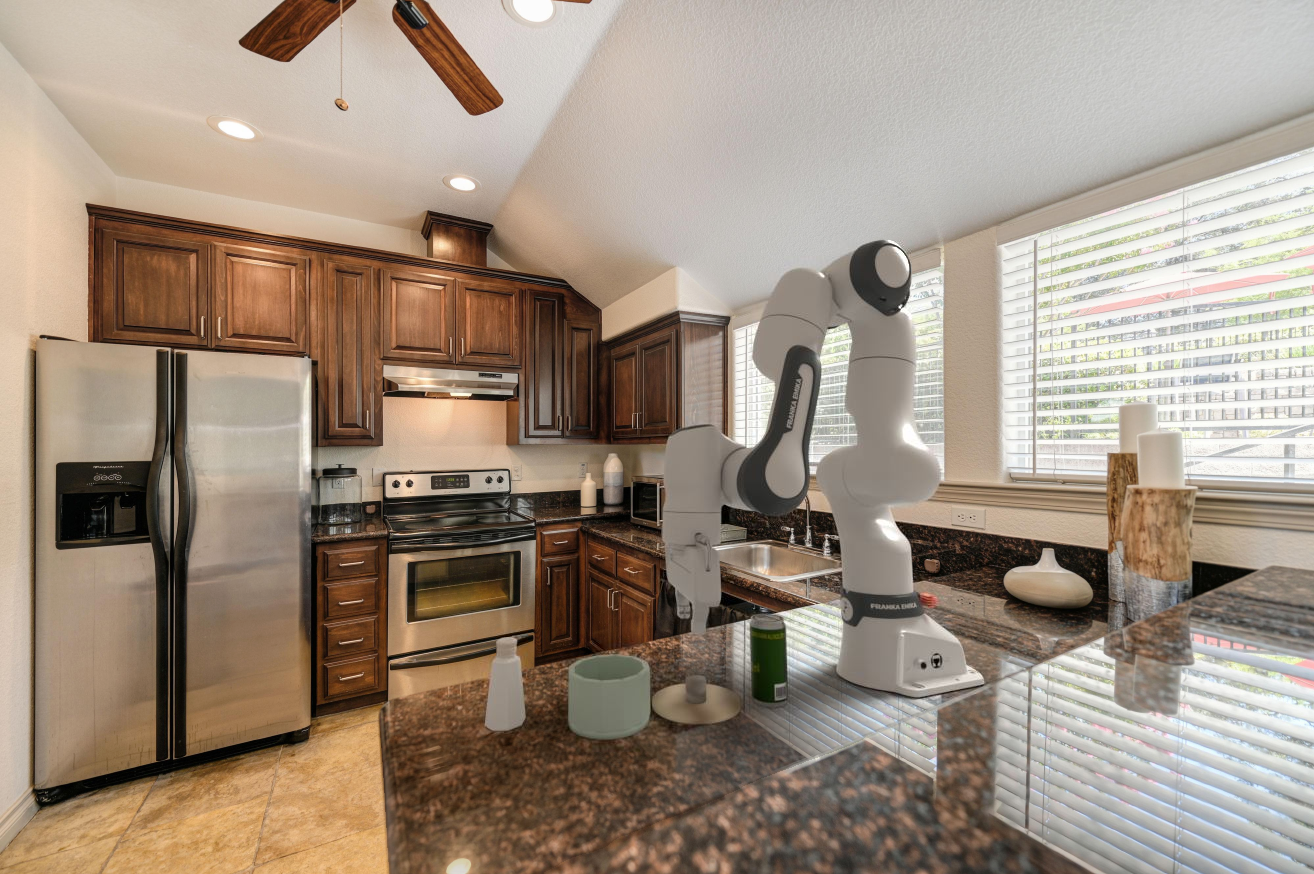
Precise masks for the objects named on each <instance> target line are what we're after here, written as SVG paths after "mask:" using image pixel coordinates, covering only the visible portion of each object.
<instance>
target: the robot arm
mask: <svg viewBox="0 0 1314 874" xmlns="http://www.w3.org/2000/svg"><path fill="white" fill-rule="evenodd" d="M912 277H913V276H912V265H911V260H910V258H909V256H908V254H907V252H906V251H905V250H904V249H903V248H902V247H901V246H900V245H899V244H898V243H897V242H894V241H893V240H889V239H879V240H874V241H870V242H867V243H864V244H862V245H860V246H858V247H857V249H855V250H852V251H850V252H848V253H846V254H844V255H842V256H840V257H838V258H836V259H835V260H833V261H832V262H831V263H829V264H828V265H827V266H826V267H824V268H822V270H820V271H819V270H816V269H815V268H811V267H798V268H794V269H790V270H789V271H787V272H785V273H784V274H783V275H782V276H780V279H779V280H778V282H777V283H776V285H775V287H774V289H772V290H773V291H772V292H771V294H770V296H769V299H768V300H767V303H766V304H765V307H764V309H763V312H762V314H761V317H760V320H759V323H758V326H757V329H756V332H755V336H754V340H753V343H752V344H753V345H752V355H751V358H752V361H753V363H754V365H755V367H756V369H757V370H758V371H759V373H760V374H762V375H763V377H765V378H768V379H769V380H770V381H773V382H774V392H773V393H774V394H773V397H772V398H773V399H772V403H771V407H770V411H769V416H768V420H767V425H766V429H765V432H764V434H763V437H761V438H760V440H759V442H758V443H756V444H755V445H754V446H752V447H747V446H746V445H743V444H740V443H738V442H737V441H735V440H733V439H731V438H729V437H728V436H727V435H725V434H724V432H723V433H722V432H721V431H720V430H719V428H718V427H717V426H716V425H715V424H709V423H707V424H706V423H705V424H704V423H702V424H697V425H696V424H695V425H688V426H687V427H680V428H678V429H676V430H674V431H673V432H672V433H671V434H670V435H669V436H668V439H667V441H666V446H665V452H664V462H663V487H664V492H665V499H664V503H663V508H662V525H661V538H662V540H661V541H662V542H663V543H664V554H665V570H666V577H667V581H668V583H670V585H672V586H673V587H674V588H675V589H674V591H675V593H674V594H675V599H676V605H677V606H676V609H677V610H676V613H677V617H679V618H680V619H682V620H684V619H689V618H690V617H691V609H692V619H690V630H691V633H692V634H693V635H695V636H704V635H706V633H707V632H706V631H707V621H708V617H709V614H710V608H717V607H719V606H720V603H721V600H722V599H721V598H722V588H721V587H722V585H721V584H722V583H721V582H722V581H721V566H720V565H721V564H720V563H721V562H720V556H719V552H718V550H717V549H716V548H713V546H715V545H720V544H721V542H722V507H723V506H724V505H726V506H727V507H730V508H733V509H740V510H743V511H749V512H750V511H751V512H757V513H759V514H763V515H765V516H771V517H780V516H785V515H787V514H790V513H792V512H793V511H795V510H796V509H797V508H798V507H799V506H800V505H801V504H802V503H803V502H804V500H805V499H806V497H807V494H808V491H809V488H810V485H811V484H810V482H811V469H810V457H809V456H810V455H809V454H810V453H809V452H810V442H811V438H812V437H811V436H812V430H813V425H814V421H815V415H816V410H817V406H818V399H819V393H820V389H821V381H822V362H821V354H822V349H823V347H824V343H825V339H826V336H827V332H828V330H834V329H837V328H839V327H840V326H842V325H846V324H847V327H848V329H849V332H850V335H851V345H850V351H849V356H848V357H849V358H848V366H847V367H848V368H847V377H846V387H845V396H844V397H845V398H844V407H845V409H846V411H847V413H848V414H849V415H850V416H851V417H852V418H853V421H854V425H855V431H856V437H857V442H856V444H852V445H845V446H844V445H843V446H841V447H838V448H836V449H835V450H833V451H830V452H829V453H827V454H825V456H823V457H822V458H821V459H820V461H819V462H818V463H817V467H816V471H815V480H816V484H817V487H818V489H819V490H820V492H821V493H822V494H823V496H825V498H826V500H827V502H828V504H829V507H830V510H831V512H832V513H831V514H832V516H833V519H834V523H835V526H836V530H837V534H838V538H839V545H840V557H841V559H840V560H841V575H842V585H841V586H840V592H839V593H840V614H841V620H842V633H841V644H840V652H839V657H838V661H837V665H836V668H835V671H836V673H837V675H838V676H840V677H841V678H842V679H844V680H846V681H849V682H850V683H852V684H856V685H859V686H862V687H865V688H869V689H874V690H880V691H886V692H891V693H892V692H893V693H897V694H900V695H903V696H907V697H913V698H921V697H927V696H931V695H937V694H943V693H947V692H952V691H957V690H961V689H967V688H973V687H977V686H981V685H984V684H985V679H984V677H983V675H982V674H981V672H979V671H978V670H976V669H975V668H973V667H971V666H970V665H968V664H967V660H966V656H965V651H964V649H963V646H962V644H961V642H960V640H959V639H958V638H957V637H956V636H955V635H954V634H952V633H951V632H950V631H949V630H947V629H946V628H944V627H943V626H942V625H941V624H939V623H938V622H936V621H935V620H934V619H932V618H931V617H930V616H929V615H928V614H926V613H925V612H926V611H925V609H924V606H927V607H928V608H933V609H934V608H935V607H937V605H938V598H937V597H936V596H935V595H933V594H930V593H928V592H927V593H925V592H924V593H922V594H921V593H920V592H918V591H917V590H915V589H914V579H913V558H912V548H911V547H912V546H911V544H910V541H909V539H908V538H907V537H906V535H904V534H903V532H902V531H901V530H900V529H899V527H898V526H897V524H896V521H895V519H894V516H893V514H892V513H893V512H892V510H891V508H894V509H896V508H897V509H898V508H906V507H910V506H914V505H917V504H921V503H923V502H926V501H928V500H929V499H931V498H932V497H933V496H934V495H935V494H936V492H937V490H938V489H939V486H940V483H941V478H942V472H941V471H942V470H941V465H940V463H939V460H938V458H937V456H936V455H935V453H934V452H933V451H932V450H931V449H930V448H929V447H928V446H927V445H926V444H925V443H924V441H923V440H922V438H921V435H920V433H919V432H920V431H919V429H918V427H917V426H918V425H917V422H916V418H915V417H916V416H915V409H914V408H915V407H914V406H915V405H914V404H915V403H914V401H915V399H914V398H915V381H916V367H917V338H916V337H917V336H916V328H915V322H914V317H913V315H912V313H911V312H909V311H908V310H907V309H906V308H905V306H907V303H908V301H909V298H910V295H911V291H910V289H911V286H912V279H913V278H912ZM690 603H691V606H690Z"/></svg>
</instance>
